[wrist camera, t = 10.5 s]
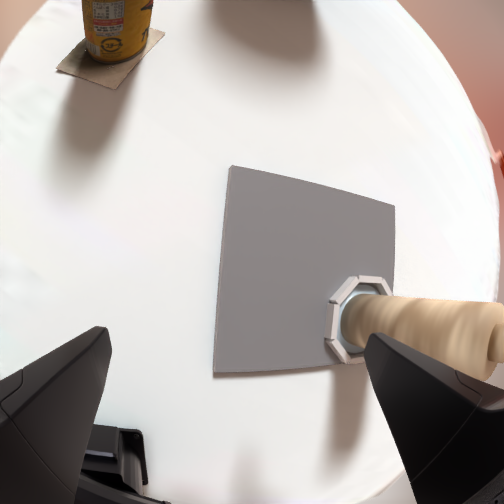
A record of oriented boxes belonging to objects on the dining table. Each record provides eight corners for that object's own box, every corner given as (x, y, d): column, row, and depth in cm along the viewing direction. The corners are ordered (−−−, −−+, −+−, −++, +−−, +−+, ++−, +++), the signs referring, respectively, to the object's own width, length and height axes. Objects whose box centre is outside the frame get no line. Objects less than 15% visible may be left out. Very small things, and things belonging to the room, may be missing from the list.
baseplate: (380, 354, 27) (391, 358, 26) (212, 369, 21) (218, 376, 20) (389, 207, 29) (401, 204, 27) (229, 168, 23) (235, 160, 21)
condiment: (165, 34, 21) (190, -61, 10) (115, 91, 19) (112, -18, 8) (109, 16, 19) (114, -72, 8) (56, 70, 17) (32, -24, 6)
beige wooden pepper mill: (370, 348, 26) (504, 381, 12) (333, 341, 24) (484, 385, 10) (383, 299, 27) (520, 310, 12) (348, 287, 25) (504, 296, 11)
